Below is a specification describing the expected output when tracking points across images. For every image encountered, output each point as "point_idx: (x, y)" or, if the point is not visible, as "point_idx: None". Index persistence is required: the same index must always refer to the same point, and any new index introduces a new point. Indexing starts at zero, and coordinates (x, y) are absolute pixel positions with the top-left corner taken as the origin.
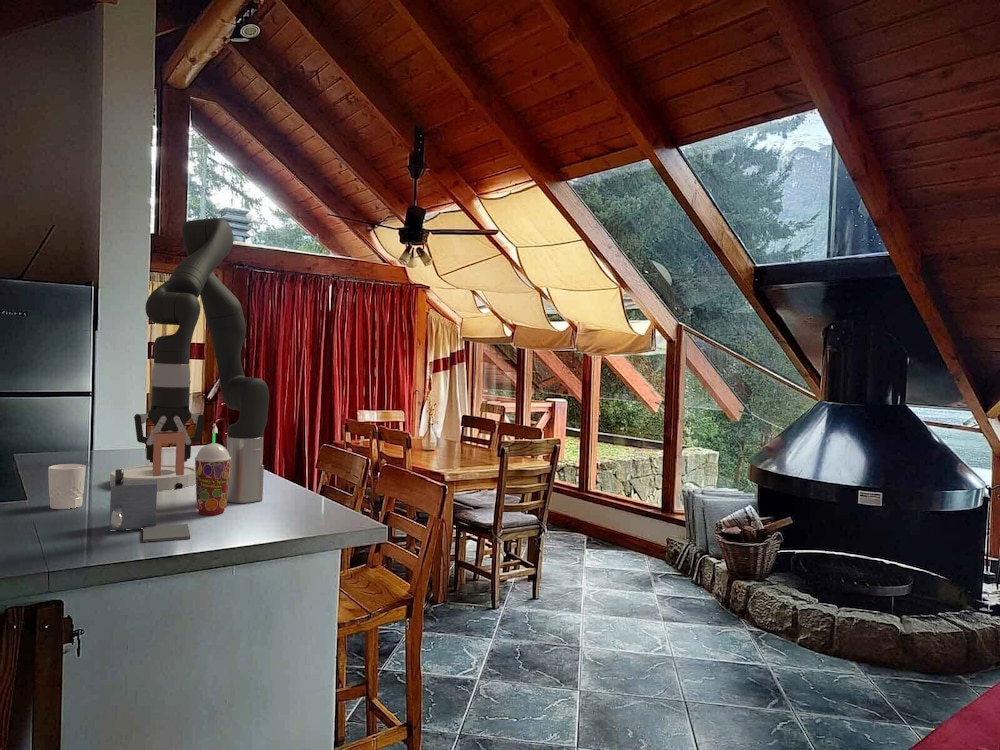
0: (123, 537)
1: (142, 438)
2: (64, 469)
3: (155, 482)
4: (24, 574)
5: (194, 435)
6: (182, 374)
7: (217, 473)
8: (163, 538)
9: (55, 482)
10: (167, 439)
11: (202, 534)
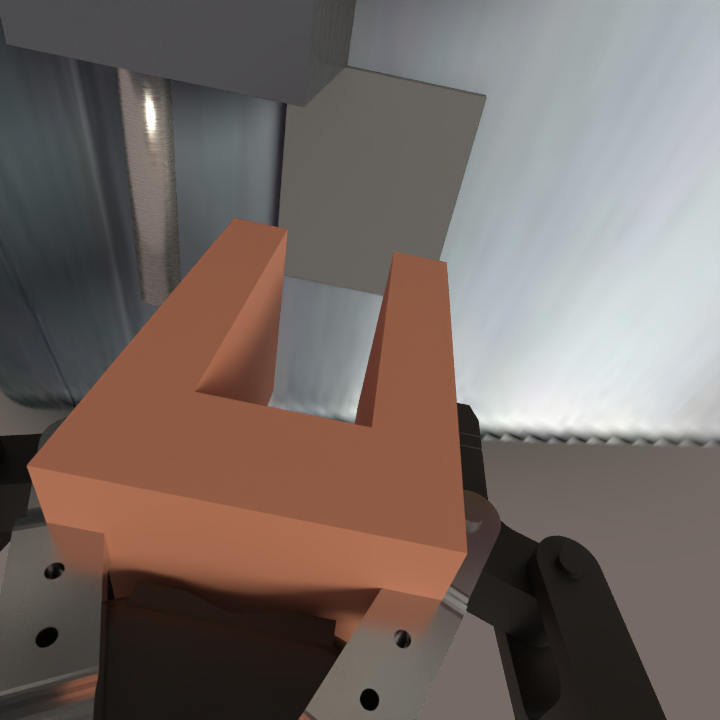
0: (215, 161)
1: (4, 535)
2: None
3: (301, 17)
4: (28, 397)
5: (540, 599)
6: None
7: None
8: (339, 285)
9: None
10: None
11: (486, 259)
